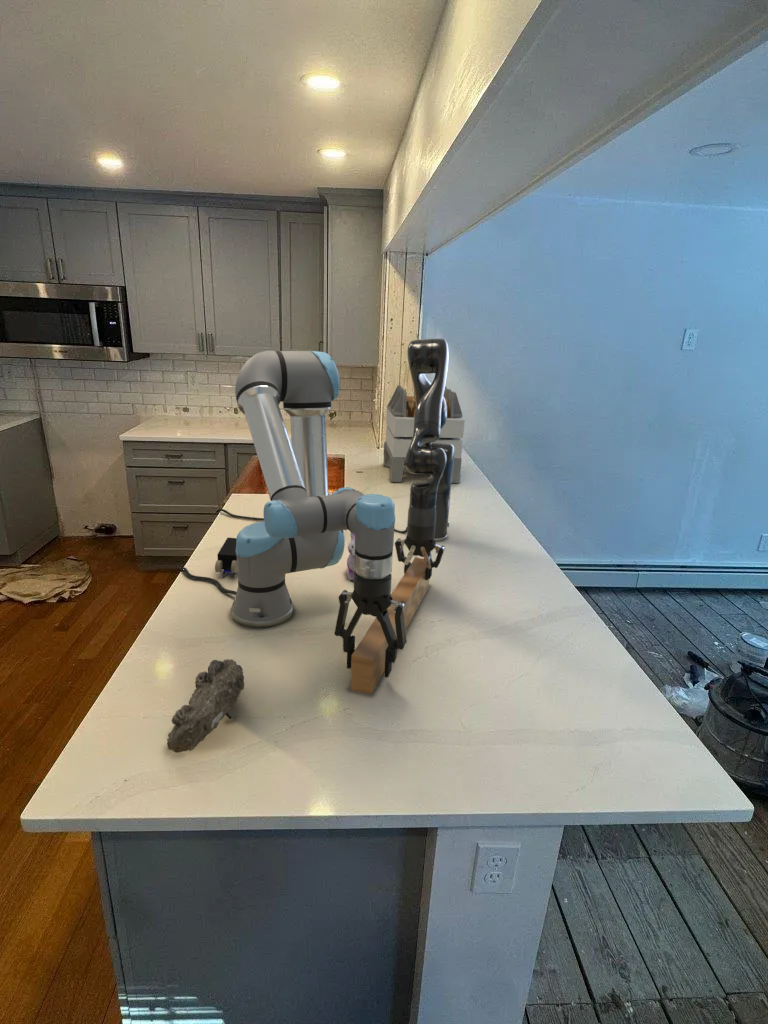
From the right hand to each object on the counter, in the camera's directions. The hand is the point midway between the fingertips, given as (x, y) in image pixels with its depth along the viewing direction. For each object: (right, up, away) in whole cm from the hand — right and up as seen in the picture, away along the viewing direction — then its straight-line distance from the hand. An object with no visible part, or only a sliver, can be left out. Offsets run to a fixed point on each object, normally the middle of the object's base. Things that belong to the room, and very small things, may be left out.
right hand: (417, 577), depth 157 cm
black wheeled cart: (-54, +1, +11) cm, 55 cm away
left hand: (-12, -15, -37) cm, 42 cm away
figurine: (-16, -1, +11) cm, 20 cm away
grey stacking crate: (+8, +37, +118) cm, 124 cm away
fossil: (-42, -21, -49) cm, 68 cm away
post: (-6, -11, -17) cm, 21 cm away
